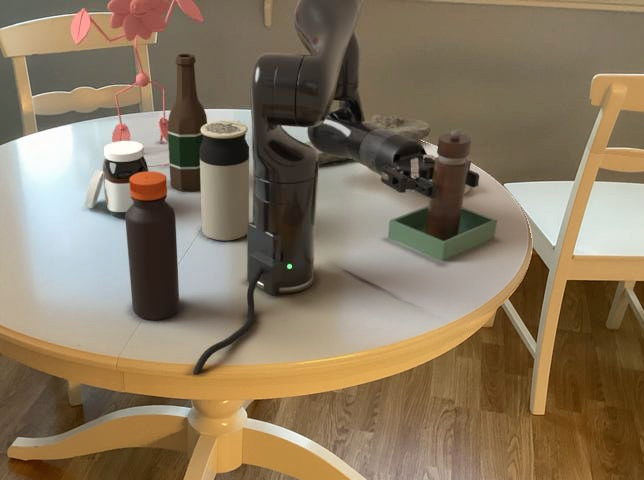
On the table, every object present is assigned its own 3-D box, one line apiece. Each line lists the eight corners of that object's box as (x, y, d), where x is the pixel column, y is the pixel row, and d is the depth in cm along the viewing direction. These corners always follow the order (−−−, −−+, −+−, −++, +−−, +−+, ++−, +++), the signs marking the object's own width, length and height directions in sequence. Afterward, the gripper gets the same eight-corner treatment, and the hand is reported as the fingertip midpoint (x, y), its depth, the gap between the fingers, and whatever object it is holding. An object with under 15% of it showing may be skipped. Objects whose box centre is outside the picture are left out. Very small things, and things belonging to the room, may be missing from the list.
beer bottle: (216, 188, 160) (214, 57, 146) (177, 195, 157) (171, 63, 144) (201, 174, 166) (197, 48, 153) (164, 180, 164) (157, 52, 150)
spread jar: (156, 217, 149) (152, 154, 143) (93, 227, 146) (86, 162, 140) (139, 193, 159) (135, 132, 152) (80, 201, 156) (73, 140, 149)
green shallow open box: (441, 264, 132) (444, 243, 130) (387, 240, 140) (389, 220, 138) (493, 240, 139) (497, 220, 137) (439, 218, 146) (442, 199, 144)
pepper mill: (443, 247, 136) (459, 137, 126) (418, 236, 139) (431, 128, 129) (463, 237, 138) (481, 129, 128) (438, 227, 142) (453, 121, 132)
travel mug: (226, 246, 139) (225, 139, 129) (192, 232, 144) (188, 128, 134) (258, 230, 144) (259, 126, 134) (224, 218, 148) (222, 116, 138)
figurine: (80, 153, 177) (60, -28, 158) (195, 136, 185) (189, -39, 166) (99, 178, 165) (80, -15, 146) (221, 158, 173) (218, -27, 154)
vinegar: (171, 323, 119) (164, 189, 108) (126, 317, 120) (114, 185, 109) (185, 300, 124) (179, 170, 113) (141, 295, 126) (132, 166, 115)
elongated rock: (275, 164, 173) (303, 182, 166) (275, 140, 170) (303, 157, 163) (409, 125, 186) (440, 140, 179) (411, 102, 182) (443, 116, 175)
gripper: (359, 141, 140) (423, 172, 127) (427, 126, 145) (494, 155, 133) (355, 184, 144) (417, 218, 132) (421, 168, 149) (487, 199, 137)
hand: (456, 186), depth 132 cm, fingers open, 8 cm apart
